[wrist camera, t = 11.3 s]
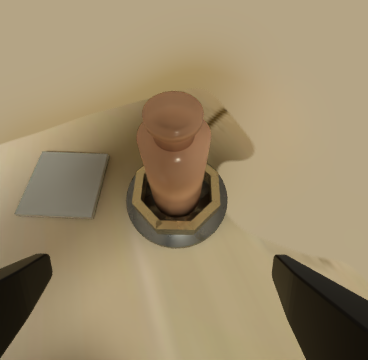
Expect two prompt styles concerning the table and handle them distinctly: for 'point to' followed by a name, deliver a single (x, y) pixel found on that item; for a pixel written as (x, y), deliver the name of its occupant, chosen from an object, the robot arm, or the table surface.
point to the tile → (64, 186)
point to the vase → (174, 151)
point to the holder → (177, 227)
